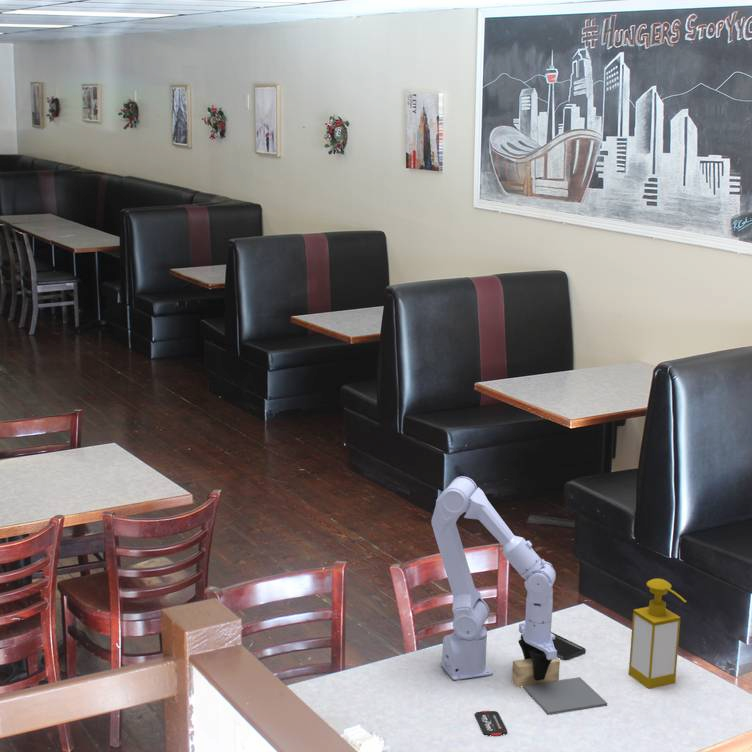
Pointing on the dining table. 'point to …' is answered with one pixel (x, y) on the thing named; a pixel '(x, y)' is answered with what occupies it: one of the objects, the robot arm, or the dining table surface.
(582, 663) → the dining table surface
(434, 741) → the dining table surface
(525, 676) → the oak domino
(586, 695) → the rubber mat
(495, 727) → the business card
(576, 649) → the phone
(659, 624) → the soap bottle
